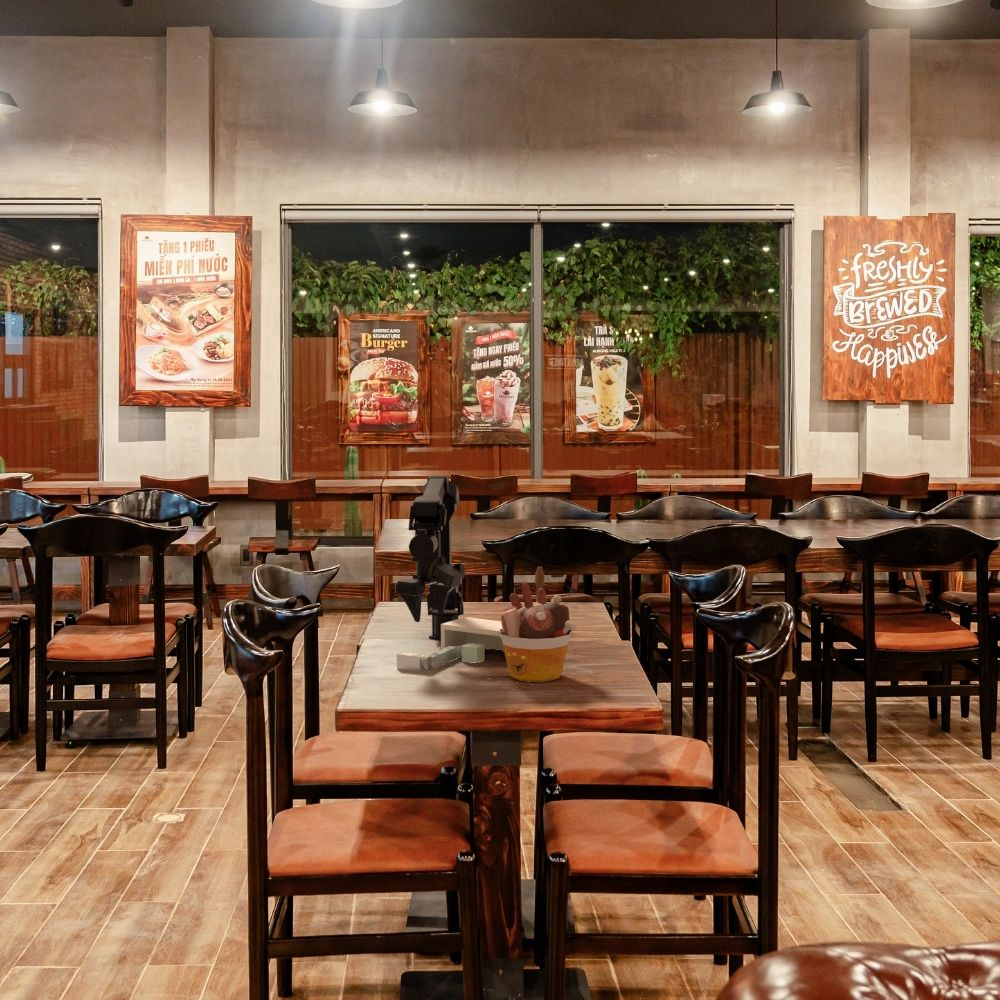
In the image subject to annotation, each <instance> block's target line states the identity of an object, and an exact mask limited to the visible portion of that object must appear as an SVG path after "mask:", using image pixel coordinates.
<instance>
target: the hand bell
mask: <svg viewBox="0 0 1000 1000" xmlns="http://www.w3.org/2000/svg"><path fill="white" fill-rule="evenodd" d="M534 583H535V586H536V592H537V591H538V590H539V589H540V588H543V589H544V586H545V585H544V584H545V573H544V570H543V566H537V568H536V571H535V575H534ZM536 604H538V598H537V596H536V602H534V603H533V607H535V605H536Z"/></svg>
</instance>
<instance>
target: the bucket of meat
mask: <svg viewBox="0 0 1000 1000" xmlns="http://www.w3.org/2000/svg"><path fill="white" fill-rule="evenodd" d="M520 587H521V592H522V598H523V603H524V606H522V603H521V600H520V597H519V595H518V594H517V593H515V592H512V593H510V595H509V601H510V603H511V605H510V606H508V607H506V608H505V609H504V610H503V612H500V621H501V624H502V629H500V635H501V639H502V643H503V648H504V651H503V652H504V656H505V661H506V666H507V670H508V674H509V675H510V677H511V678H512V679H513V678H515V679H517V680H516V681H518V680H520V681H519V682H521V681H530V682H541V681H550V682H552V681H551V680H554V681H556V680H555V679H557V680H559V678H560V677H561V675H562V674H563V671H564V668H565V667H564V666H565V662H566V657H567V653H568V649H569V643H570V640H571V636H572V631H574V630H575V629H576V628H577V626H576V624H575V623H574V622H572V621H571V620H570V609H569V606H566V605H563V604H560V603H561V602H562V596H560V595H558V594H556V595H553V597H552V598H551V599H550V603H549V602H547V591H546V590H545V589H544V587H543V588H540V589H539V590H538V591H537V590H536V597H537V598H538V604H536V605H535V607H533V604H534V603H533V599H532V598H533V597H532V594H531V588H530V584H528V583H527V582H522V584H521V586H520ZM537 598H536V599H537ZM515 679H514V680H515ZM530 682H529V683H530Z"/></svg>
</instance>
